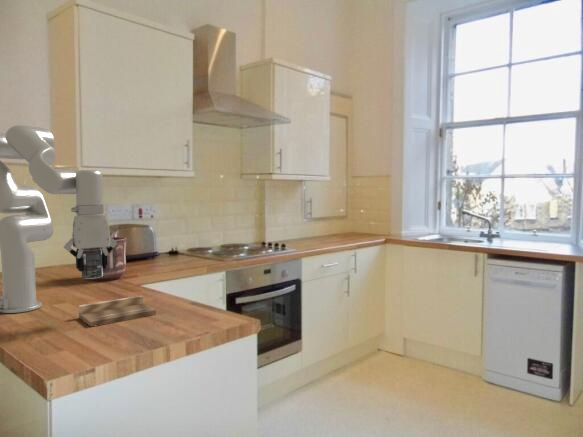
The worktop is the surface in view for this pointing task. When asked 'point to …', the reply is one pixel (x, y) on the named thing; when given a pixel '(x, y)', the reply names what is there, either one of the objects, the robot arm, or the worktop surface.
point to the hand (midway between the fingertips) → (92, 268)
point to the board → (114, 311)
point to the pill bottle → (92, 263)
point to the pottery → (115, 261)
